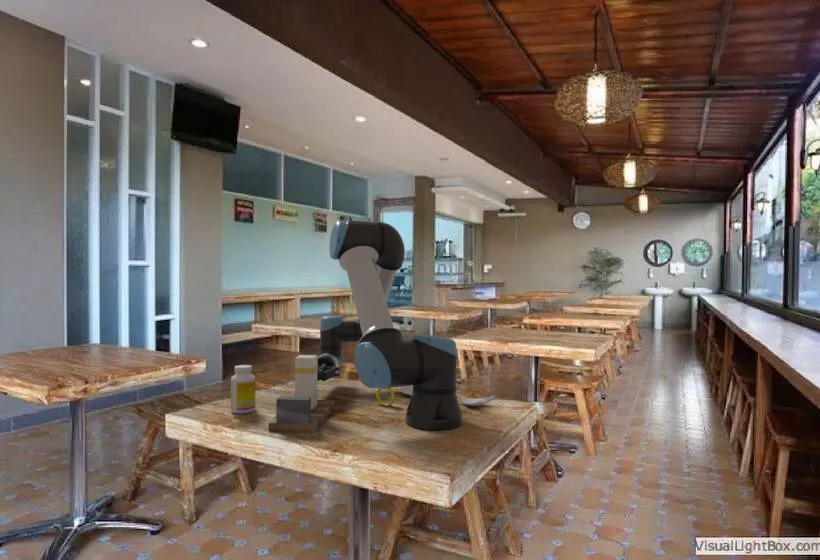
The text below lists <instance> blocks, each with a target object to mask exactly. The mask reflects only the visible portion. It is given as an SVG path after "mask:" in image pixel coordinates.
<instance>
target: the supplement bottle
mask: <svg viewBox="0 0 820 560" xmlns="http://www.w3.org/2000/svg"><path fill="white" fill-rule="evenodd" d="M252 371H253V367H252V365H250V364H239V365H235V366H234V375H232V377H230V411H231V412H232V413H233V414H237V415H239V414H240V415H241V414H243V415H244V413H245V414H250V413H253V412H254V411H255V410H256V376H255V375H254V374H252Z"/></svg>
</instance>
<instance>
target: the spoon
mask: <svg viewBox="0 0 820 560" xmlns="http://www.w3.org/2000/svg"><path fill="white" fill-rule="evenodd" d="M399 391H400V392H401V393H403V394H405V395H406V396H410V397H411V396H412V393H413V385H410V386H401V387H399ZM456 396H457V399H458V400H459V401H461V402H462V403H463V404H464V405H467V406H470V407H477V406H482V405H486V404H488V403H490V402H491V401H494V400H495V399H496V397H495V395H493V396H491V395H490V396H488V397H484V398H474V399H473V398H465V397H464V396H462V395H461V394H460V393H459V394H458V393H457V392H456Z"/></svg>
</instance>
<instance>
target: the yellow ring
mask: <svg viewBox="0 0 820 560" xmlns="http://www.w3.org/2000/svg"><path fill="white" fill-rule="evenodd" d="M381 390H382V389H380V388H377V391H376V395H375V396H376V397H375V398H376V401H377V403H378V404H379V405H380V406H386V407H390V406H392V405H393V404H394V402H395V399H396V397H395V395H396V394H395V391H394V390H393V389H392V387H391V388H386V389H385V390H387V391H388V392H389V394H390V395H391V400H390V403H384V402H383V401H382V399H381V396H380V393H381Z"/></svg>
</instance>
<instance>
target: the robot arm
mask: <svg viewBox="0 0 820 560" xmlns="http://www.w3.org/2000/svg"><path fill="white" fill-rule="evenodd" d="M405 249H406V248H405V244H404V240H403V237H402V236H401V234H400V232H399V231H398V230H397V228H395V227H394V226H392V225H391V224H388V223H386V222H382V221H381V222H380V221H378V222H377V221H376V222H375V221H363V220H362V221H361V220H350V219H347V220H338V221H336V222H335V223H334V225H332V229H331V233H330V239H329V257H330V258H331V259H332V260H335V261H337V260H338V262H339V266H340V268H341V269H342V270H344V271H346V273H347V278H348V282H349V285H350V289H351V294H352V297H353V302H354V306H355V310H356V315H357V320H343V317H342V316H340V315H325V316H322V317H321V318H320V322H319V323H320V324H319V325H320V327H319V343H320V344H319V355H318V371H317V383H319V382H320V381H321V382H326V381H327V380H331V379H333V378H336V377H338V376H340V373H341V372H340V369H341V368H342V366H343V364H344V359H345V357H344V354H343V344H348V343H358V344H357V346H356V347H355V350H354V361H355V362H354V366H355V370H356V373H357V377H358V378H359V380H360V382H361V383H362V384H363V385H364V386H365V387H366V388H368V389H372V390H373V389H379V388H380V389H381V390H387V389H386V388H391V389H392V388H401V387H403V386H413V393H412V396H410V400H409V402H408V405H407V409H406V412H405V423H406V424H407V425H408V426H409V427H412V428H416V429H420V430H429V431H444V430H445V431H446V430H451V429H456V428H458V427H461V426H462V424H463V412H462V409H461V405H460V402H459V399H458V398H457V396H456V393H457V358H458V351H457V343H456V341H455V340H454V339H453V338H449V337H444V336H438V335H431V334H421V333H420V334H419V333H415V334H413V336H412V339H411V340H404V337H403V334H402V331H401V330H400V329H399V328H396V327H394V323H393V320H392V316H391V313H390V310H389V306H388V303H387V302H388V299H389V296H390V292H391V290H392V286H393V284H394V280H395V277H396V275H397V271H399V270H400V269H401V268H402V267H403V264H404V260H405V255H406V250H405Z"/></svg>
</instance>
